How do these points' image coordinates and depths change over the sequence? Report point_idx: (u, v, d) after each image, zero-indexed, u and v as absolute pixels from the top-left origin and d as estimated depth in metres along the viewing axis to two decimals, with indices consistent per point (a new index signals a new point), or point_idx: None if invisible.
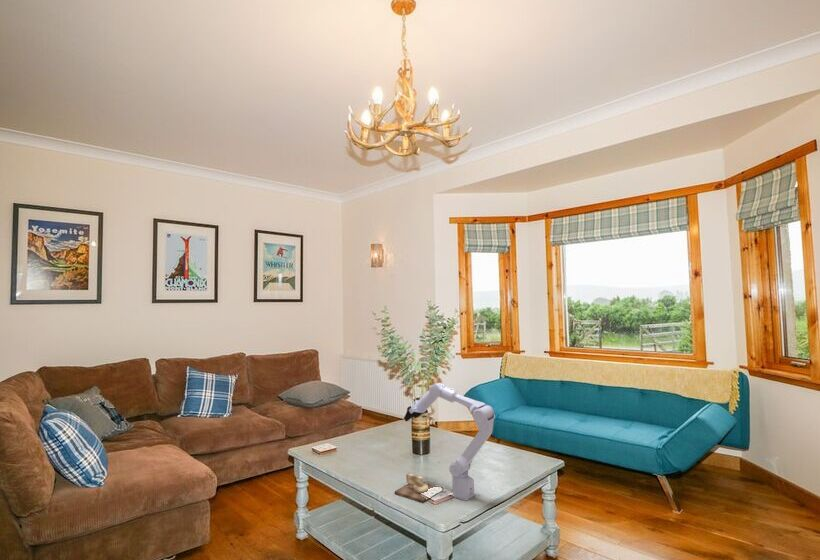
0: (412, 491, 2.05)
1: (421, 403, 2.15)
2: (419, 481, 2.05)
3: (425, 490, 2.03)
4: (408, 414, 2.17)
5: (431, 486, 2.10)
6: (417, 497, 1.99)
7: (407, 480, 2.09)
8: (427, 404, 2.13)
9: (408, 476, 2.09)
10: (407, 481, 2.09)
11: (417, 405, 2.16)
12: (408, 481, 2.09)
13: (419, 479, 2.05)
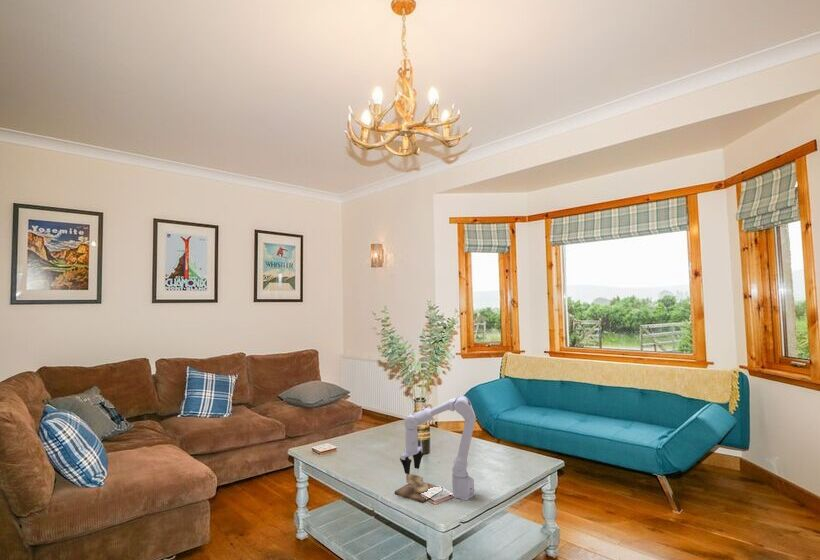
0: (412, 491, 2.05)
1: (407, 445, 2.07)
2: (419, 481, 2.05)
3: (425, 490, 2.03)
4: (405, 465, 2.05)
5: (431, 486, 2.10)
6: (417, 497, 1.99)
7: (407, 480, 2.09)
8: (415, 441, 2.07)
9: (408, 476, 2.09)
10: (407, 481, 2.09)
11: (406, 450, 2.07)
12: (408, 481, 2.09)
13: (419, 479, 2.05)
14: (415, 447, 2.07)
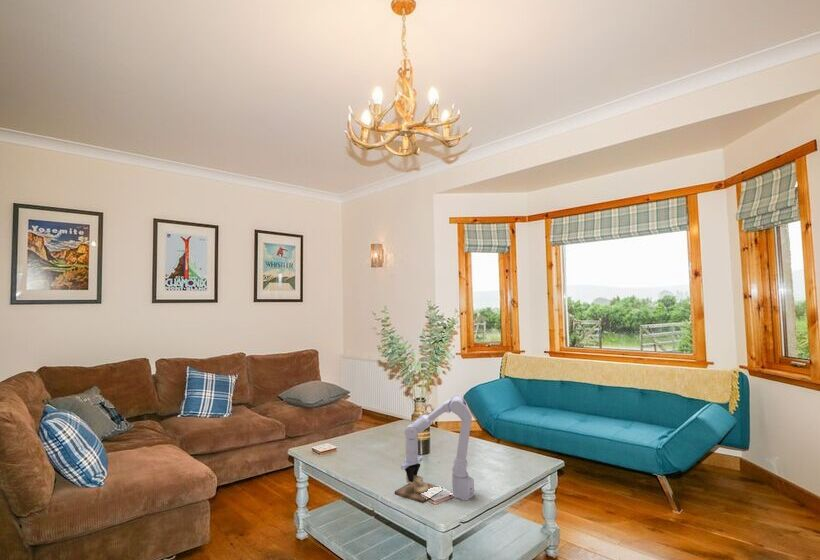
0: (412, 491, 2.05)
1: (407, 455, 2.07)
2: (419, 481, 2.05)
3: (425, 490, 2.03)
4: (409, 473, 2.07)
5: (431, 486, 2.10)
6: (417, 497, 1.99)
7: (407, 480, 2.09)
8: (415, 450, 2.07)
9: None
10: (407, 481, 2.09)
11: (407, 460, 2.07)
12: (408, 481, 2.09)
13: (419, 479, 2.05)
14: (415, 457, 2.07)
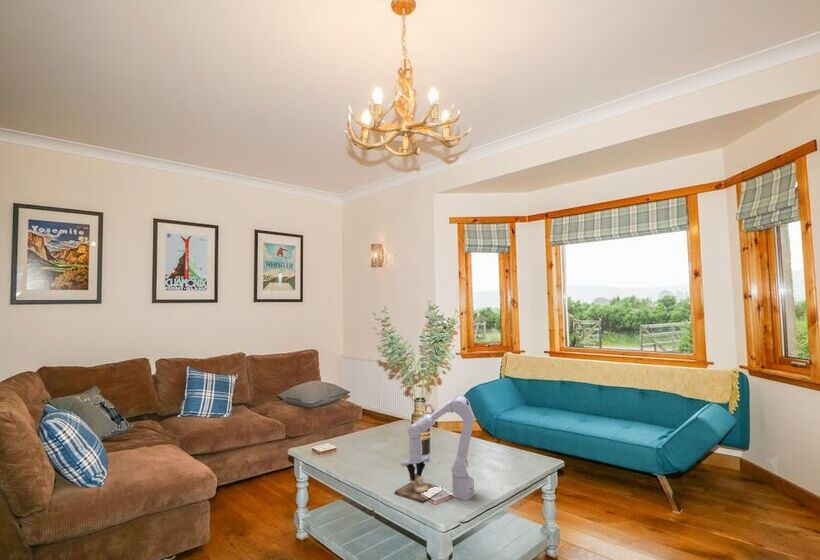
0: (412, 491, 2.05)
1: (409, 453, 2.09)
2: (419, 481, 2.05)
3: (423, 490, 2.02)
4: (410, 471, 2.09)
5: (431, 486, 2.10)
6: (417, 497, 1.99)
7: (410, 478, 2.11)
8: (418, 449, 2.08)
9: None
10: (410, 479, 2.11)
11: (409, 458, 2.10)
12: (411, 480, 2.10)
13: (419, 479, 2.05)
14: (416, 456, 2.07)
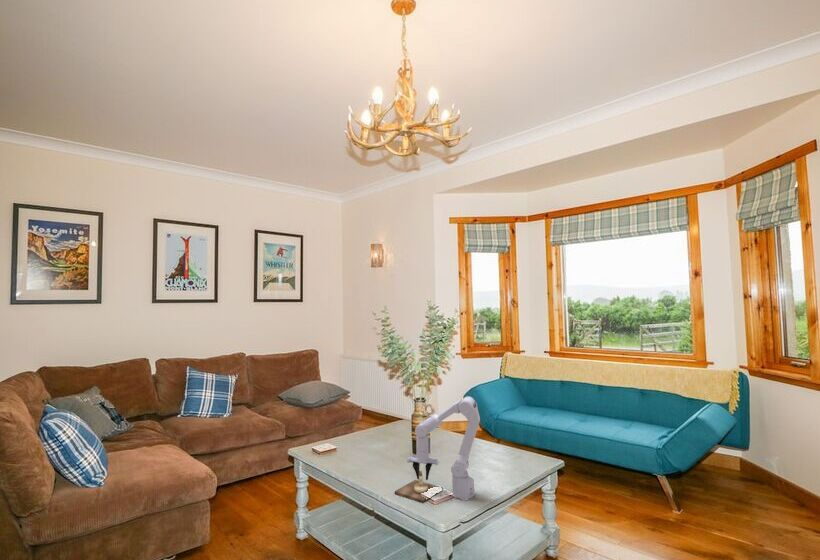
0: (412, 491, 2.05)
1: None
2: (419, 480, 2.06)
3: (419, 491, 2.02)
4: None
5: (431, 486, 2.10)
6: (417, 497, 1.99)
7: None
8: (425, 449, 2.08)
9: None
10: None
11: None
12: None
13: (419, 478, 2.06)
14: (419, 455, 2.08)
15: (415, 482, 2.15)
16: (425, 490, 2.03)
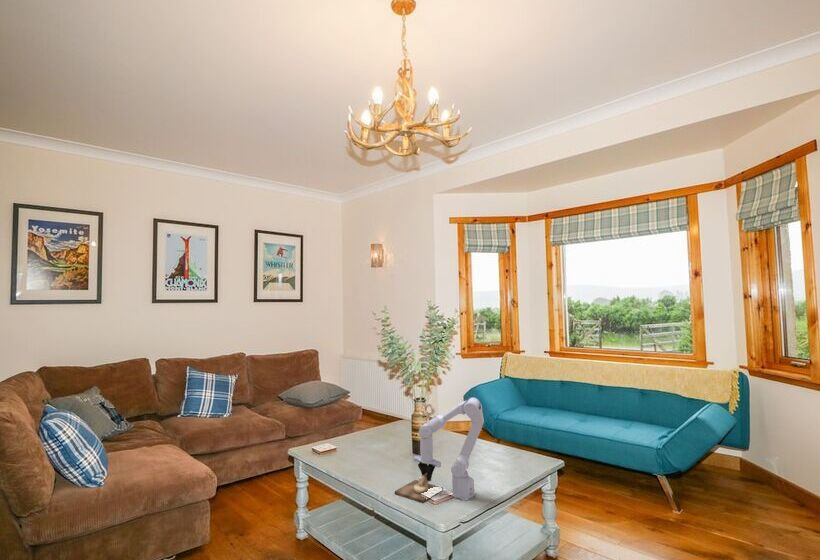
0: (412, 491, 2.05)
1: None
2: None
3: (415, 490, 2.03)
4: None
5: (431, 486, 2.10)
6: (417, 497, 1.99)
7: None
8: (429, 449, 2.07)
9: None
10: None
11: None
12: None
13: None
14: (422, 455, 2.08)
15: (415, 482, 2.15)
16: (421, 491, 2.02)
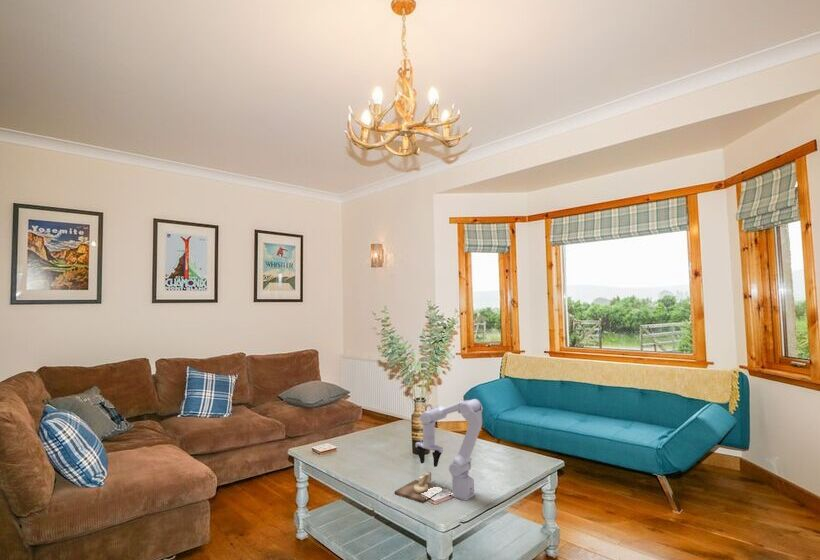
0: (412, 491, 2.05)
1: None
2: None
3: (415, 490, 2.03)
4: None
5: (431, 486, 2.10)
6: (417, 497, 1.99)
7: None
8: (429, 436, 2.14)
9: None
10: None
11: None
12: None
13: None
14: (424, 441, 2.15)
15: (415, 482, 2.15)
16: (421, 491, 2.02)
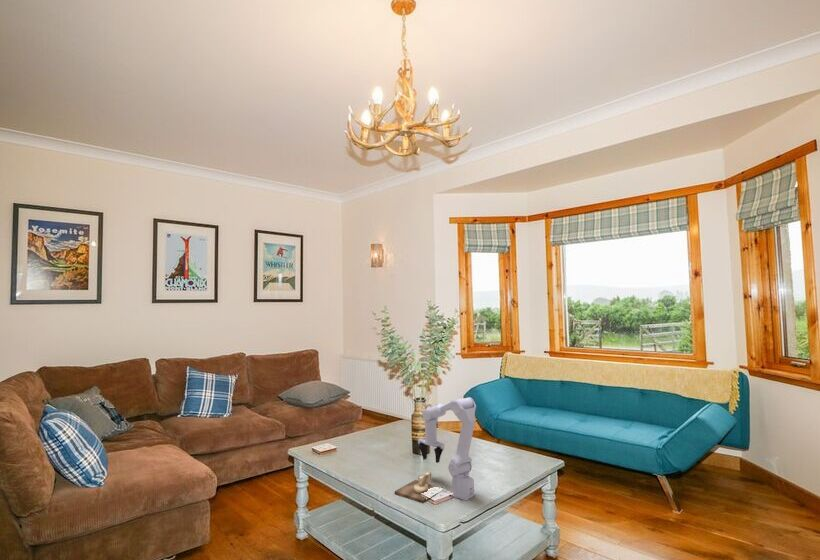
0: (412, 491, 2.05)
1: None
2: None
3: (415, 490, 2.03)
4: None
5: (431, 486, 2.10)
6: (417, 497, 1.99)
7: None
8: (430, 432, 2.19)
9: None
10: None
11: None
12: None
13: None
14: (426, 438, 2.20)
15: (415, 482, 2.15)
16: (421, 491, 2.02)
